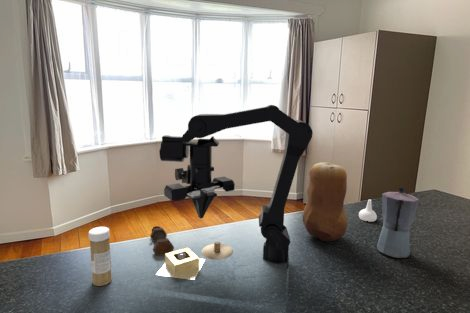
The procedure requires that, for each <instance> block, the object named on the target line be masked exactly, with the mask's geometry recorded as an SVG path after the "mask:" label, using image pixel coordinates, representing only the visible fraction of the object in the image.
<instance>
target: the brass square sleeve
mask: <svg viewBox="0 0 470 313" xmlns="http://www.w3.org/2000/svg"><path fill="white" fill-rule="evenodd" d="M181 252H184V253H185V254H186V259H183V260H179V261H178V253H181ZM199 258H200V257H199V256H198V255H197V254H196V253H194V252H193V251H192V250H191V249H190V248H189V247H185V248H181V249H177V250H173V252H170V253H166V254H164V264H165V265H166V266H167V267H168V268H169V269H170V271H171V272H172V273H173V274H174V275H175V276H178V275H181V274H184V273H187V272H190V271H193V270H196V269H199Z"/></svg>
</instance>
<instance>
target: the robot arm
mask: <svg viewBox="0 0 470 313" xmlns="http://www.w3.org/2000/svg"><path fill="white" fill-rule="evenodd" d="M265 122H271V123H272V124H274V125H275V126H277V127H278V128H280V129H281V130H283V132H284V133H285V138H284V153H283V157H282V159H281V160H282V161H281V164H280V168H279V171H278V174H277V176H276V180H275V185H274V188H273V191H272V195H271V198H270V201H269V202H268V204H267V205H265V204H262V205H261V211H260V214H259V215H258V227H260V234H261V235H262V237H263V238H264V239H265V242H264V243H263V248H262V259H263V260H265V261H268V262H270V263H272V264H276V265H279V264H285V263H286V264H287V265H286V266H287V267H286V269H288V268H289V257H290V255H289V252H290V250H289V248H290V244H291V239H290V235H289V232H288V229H287V227H286V225H284V221H285V208H286V203H287V200H288V197H289V193H290V191H291V187H292V186H293V185H292V184H293V180H294V177H295V174H296V171H297V168H298V165H299V160H300V158H301V157H302V155H303V154H304V153H305V151H306V150H307V148H308V146H309V144H310V142H311V140H312V138H313V129H312V127H311V126H310V125H309V124H308V123H307V122H305V121H302V120H301V119H300V120H298V119H296V120H295V119H294V118H292V117H291V116H289V115H288V114H287V113H285V112H283V111H282V110H280V108H279V107H278V106H277V105H275V104H274V105H273V104H269V105H267V106H264V107H263V106H262V107H256V108H251V109H247V110H239V111H235V112H228V113H223V114H222V113H201V114H197V115H195V116H192V117H191V118H190V119H189V121H188V123H187V130H186V131H185V132H184V133H183V134H182V136H175V135H174V136H172V135H162V136H161V143H160V147H159V148H160V149H159V158H160V161H161V162H179V163H184V162H185V159H188V158H189V164H187V169H186V170H184V168H183V167H181V168H175V169H174V178H175V181H181V183H182V184H186V185H185V186H184V185H182V184H181V183H172V184H171V183H170V184H166V185H165V186H164V188H163V189H164V190H163V196H165V197H166V198H168V199H169V200H170V201H171V202H177V201H183V200H186V198H189V199H190V200H191V202H192V204H193V205H194V209H195V212H196V214H197V217H198V218H199V219H200V220H202V219H204V216H205V215H206V213H207V211H208V208H209V207H210V205H211V204H212V201H213V200H214V199H215V197H218V194H217V193H216V191H215V190H216V189H223V191H224V192H225V193H226V192H232V191H235V189H236V188H235V187H236V184H235V181H234V180H233V179H231V178H229V177H226V176H218V177H214V178H213V179H212V174H213V173H212V172H214V171H215V166H212V165H213V164H212V160H213V159H212V158H213V157H212V156H213V155H212V147H216V148H217V147H219V145H220V141H218V140H217V139H216V138H215V136H211V135H214V134H216V133H219V132H221V131H223V130H227V129H232V128H238V127H244V126H249V125H255V124H260V123H265ZM209 136H211V137H210V138H206V137H209ZM195 139H198V140H197V141H192V140H195Z"/></svg>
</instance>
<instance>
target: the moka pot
mask: <svg viewBox="0 0 470 313" xmlns="http://www.w3.org/2000/svg"><path fill="white" fill-rule="evenodd" d="M405 189H406V188H405V187H403V186H399V187H398V191H387V192H383V193H382V194H381V198H382V200H381V202H382V205H381V206H382V208H381V210H382V212H381V213H382V219H383V221H382V222H383V225H382V229H381V231H380V235H379V237H378V238H379V239H378V241H377V245H376V250H377V251H378V252H380V253H382V254H384V255H385V256H388V257H392V258H397V259H403V258H404V259H406V258H408V257H410V253H411V252H410V246H411V245H410V242H411V241H410V240H411V239H410V236H411V235H410V230H411V225H412V224H413V222H414V219H415V217H416V216H415V215H416V213H417V210H418V206H419V204H420V199H419V198H417V197H416V196H414V195H411V194H408V193H406V192H404V191H405Z"/></svg>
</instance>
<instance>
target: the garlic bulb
mask: <svg viewBox="0 0 470 313" xmlns="http://www.w3.org/2000/svg"><path fill="white" fill-rule="evenodd" d="M358 217H359V219H360V220H361V221H363V222H364V221H365V222H367V221H368V222H369V223H372V222H375V221H376V220H377V217H378V216H377V213H376V212H375V211H374V210H373V207H372V199H368V200H367V203H366V206H365V208H363V209H361V210H360V211H359V212H358Z"/></svg>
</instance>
